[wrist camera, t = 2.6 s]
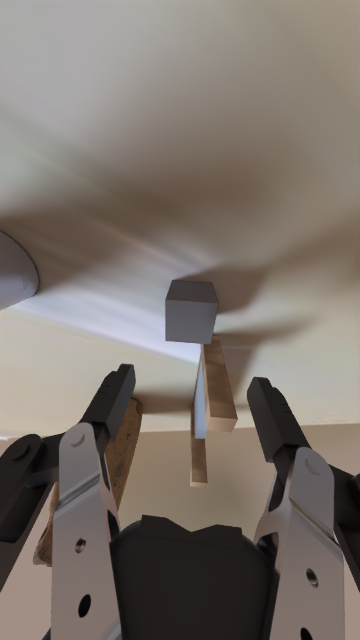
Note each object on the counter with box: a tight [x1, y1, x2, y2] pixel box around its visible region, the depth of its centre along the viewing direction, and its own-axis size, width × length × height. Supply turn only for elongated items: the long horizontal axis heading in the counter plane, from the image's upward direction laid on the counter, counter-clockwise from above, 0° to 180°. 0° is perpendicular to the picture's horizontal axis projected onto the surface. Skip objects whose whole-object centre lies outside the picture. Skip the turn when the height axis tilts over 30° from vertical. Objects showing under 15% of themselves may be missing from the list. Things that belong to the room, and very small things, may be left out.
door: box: [194, 360, 207, 439], centre depth 26 cm, size 3×14×6 cm, turn 177°
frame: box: [190, 335, 238, 488], centre depth 24 cm, size 2×21×12 cm, turn 177°
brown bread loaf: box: [33, 398, 142, 567], centre depth 27 cm, size 11×8×20 cm
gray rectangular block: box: [165, 280, 219, 344], centre depth 19 cm, size 5×5×6 cm
